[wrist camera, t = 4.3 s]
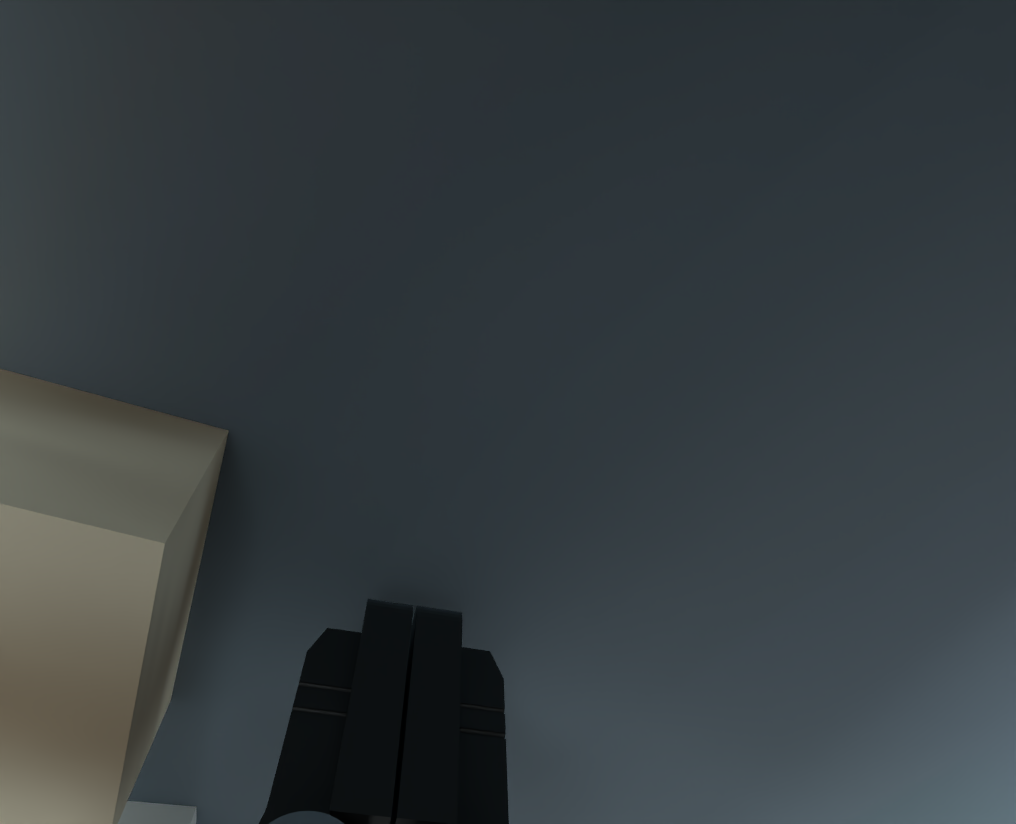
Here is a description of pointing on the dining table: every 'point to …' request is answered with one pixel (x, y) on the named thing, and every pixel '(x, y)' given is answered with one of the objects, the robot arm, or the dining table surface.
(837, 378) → the dining table surface
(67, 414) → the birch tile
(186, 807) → the pale grey tile
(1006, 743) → the dining table surface
